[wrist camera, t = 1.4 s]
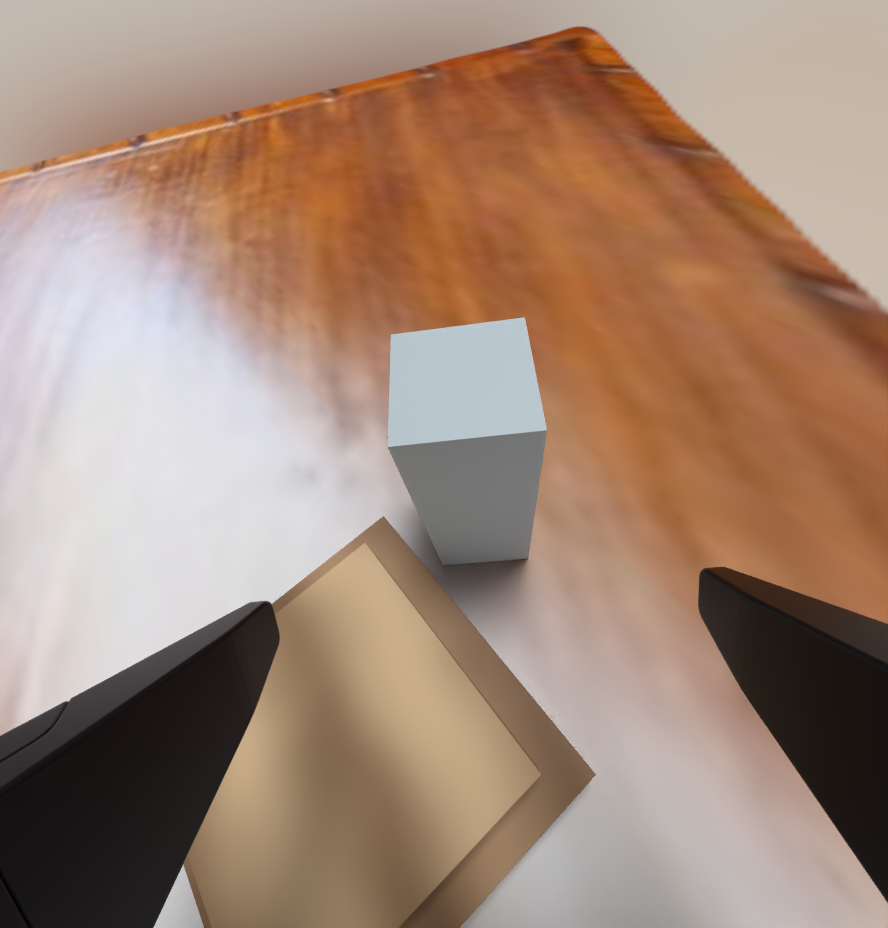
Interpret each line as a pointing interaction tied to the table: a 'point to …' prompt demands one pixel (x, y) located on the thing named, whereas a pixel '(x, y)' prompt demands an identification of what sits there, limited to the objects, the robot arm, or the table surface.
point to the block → (469, 436)
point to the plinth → (379, 761)
